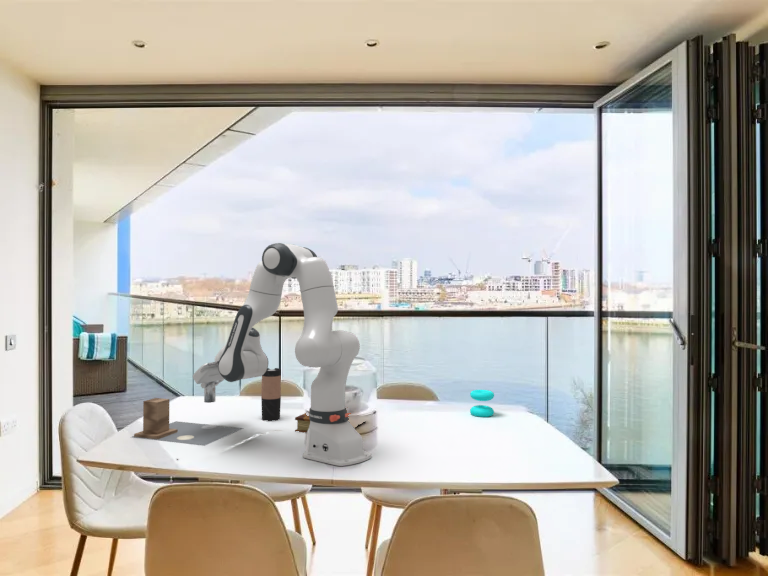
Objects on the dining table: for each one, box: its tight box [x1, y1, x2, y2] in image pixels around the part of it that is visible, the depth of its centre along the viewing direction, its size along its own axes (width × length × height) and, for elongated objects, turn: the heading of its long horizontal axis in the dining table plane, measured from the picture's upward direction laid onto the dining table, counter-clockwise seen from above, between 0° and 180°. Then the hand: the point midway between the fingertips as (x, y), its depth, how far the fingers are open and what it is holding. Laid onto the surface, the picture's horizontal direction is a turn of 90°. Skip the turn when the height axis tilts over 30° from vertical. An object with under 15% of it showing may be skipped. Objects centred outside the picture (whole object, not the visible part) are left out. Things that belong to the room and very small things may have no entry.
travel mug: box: [260, 367, 282, 422], centre depth 222 cm, size 8×8×20 cm
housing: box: [133, 397, 178, 439], centre depth 194 cm, size 10×10×12 cm
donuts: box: [469, 389, 495, 418], centre depth 233 cm, size 10×10×10 cm
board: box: [131, 420, 245, 447], centre depth 196 cm, size 30×24×1 cm
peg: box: [203, 381, 217, 403], centre depth 204 cm, size 4×4×10 cm
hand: (208, 385), depth 205 cm, fingers closed on peg, 4 cm apart
